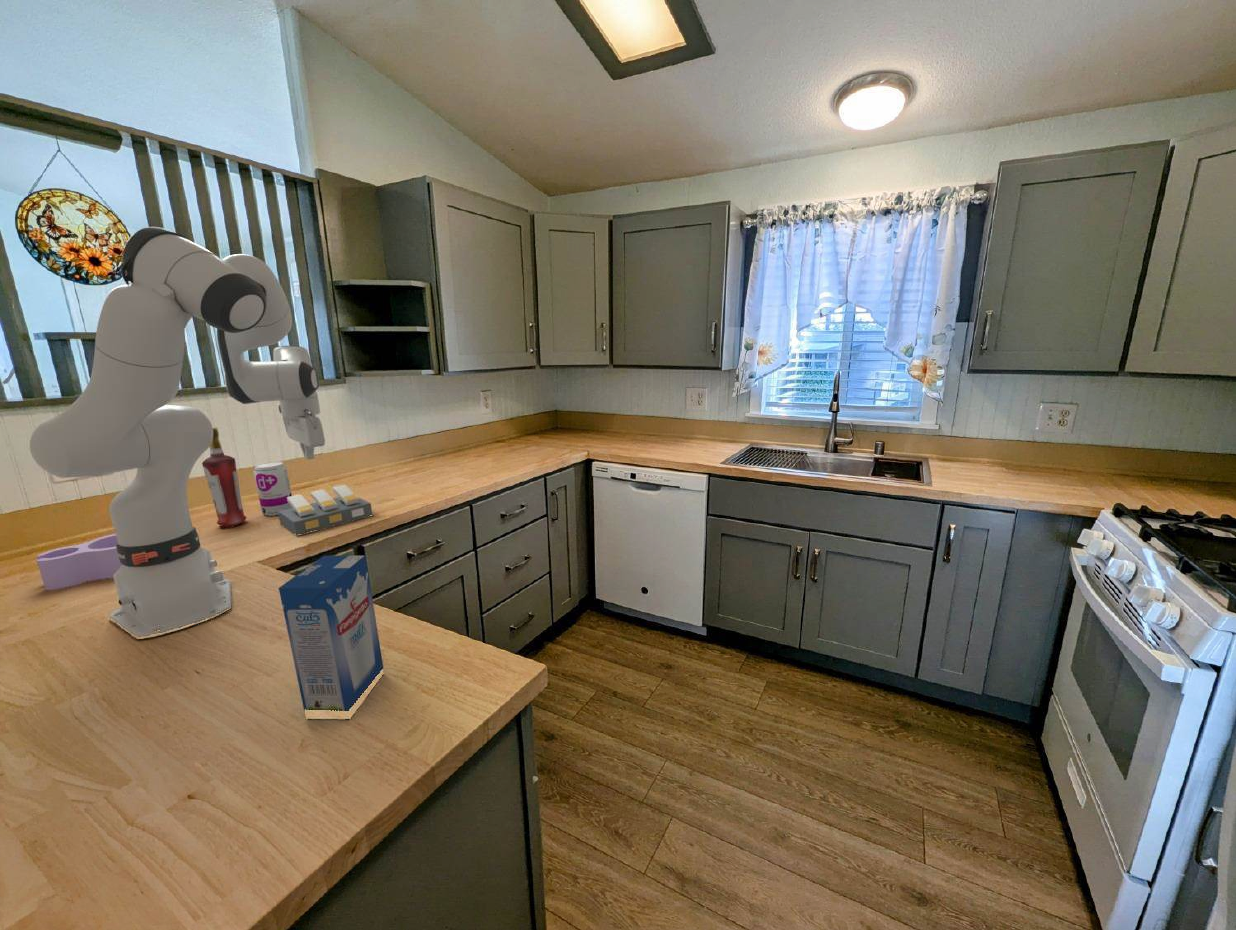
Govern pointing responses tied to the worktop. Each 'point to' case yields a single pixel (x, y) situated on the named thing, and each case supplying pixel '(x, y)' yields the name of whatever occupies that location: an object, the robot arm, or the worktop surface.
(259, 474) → the supplement can
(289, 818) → the worktop surface
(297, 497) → the rocker
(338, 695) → the milk carton
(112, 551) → the lavender double cup holder
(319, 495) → the rocker
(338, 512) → the switch housing
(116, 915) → the worktop surface
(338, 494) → the rocker
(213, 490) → the liquor
